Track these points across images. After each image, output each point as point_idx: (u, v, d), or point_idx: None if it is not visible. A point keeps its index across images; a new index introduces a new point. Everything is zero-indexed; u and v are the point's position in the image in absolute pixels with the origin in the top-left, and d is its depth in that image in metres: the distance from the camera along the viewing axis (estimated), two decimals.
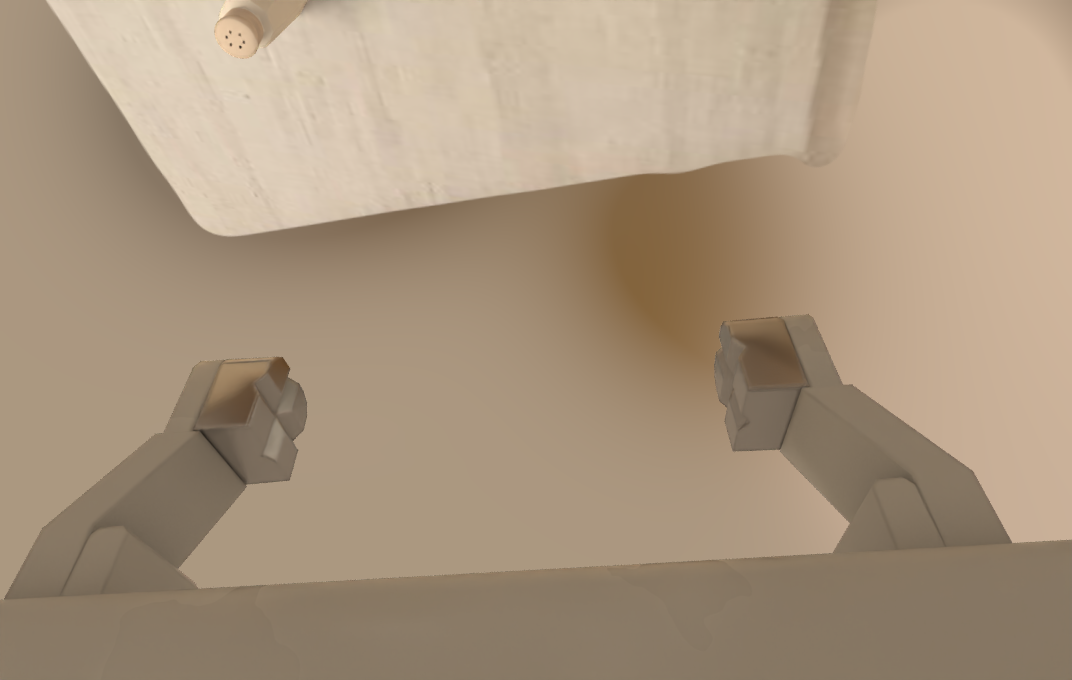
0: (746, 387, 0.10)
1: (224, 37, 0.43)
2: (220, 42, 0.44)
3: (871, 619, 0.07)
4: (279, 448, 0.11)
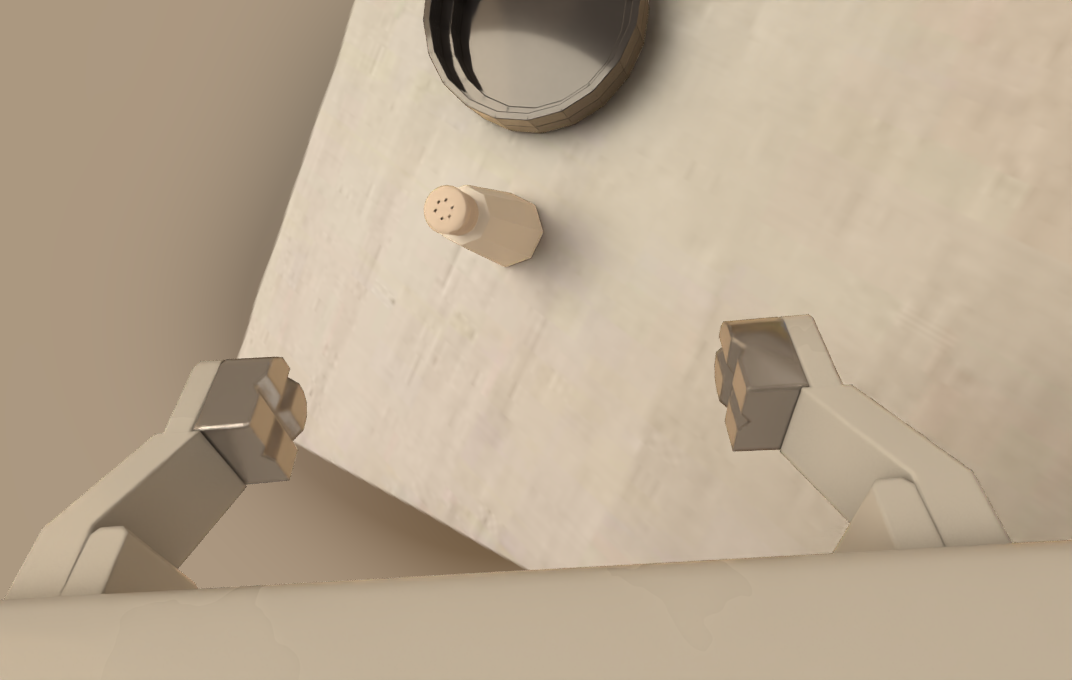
0: (746, 387, 0.10)
1: (435, 201, 0.37)
2: (427, 202, 0.37)
3: (871, 619, 0.07)
4: (279, 448, 0.11)
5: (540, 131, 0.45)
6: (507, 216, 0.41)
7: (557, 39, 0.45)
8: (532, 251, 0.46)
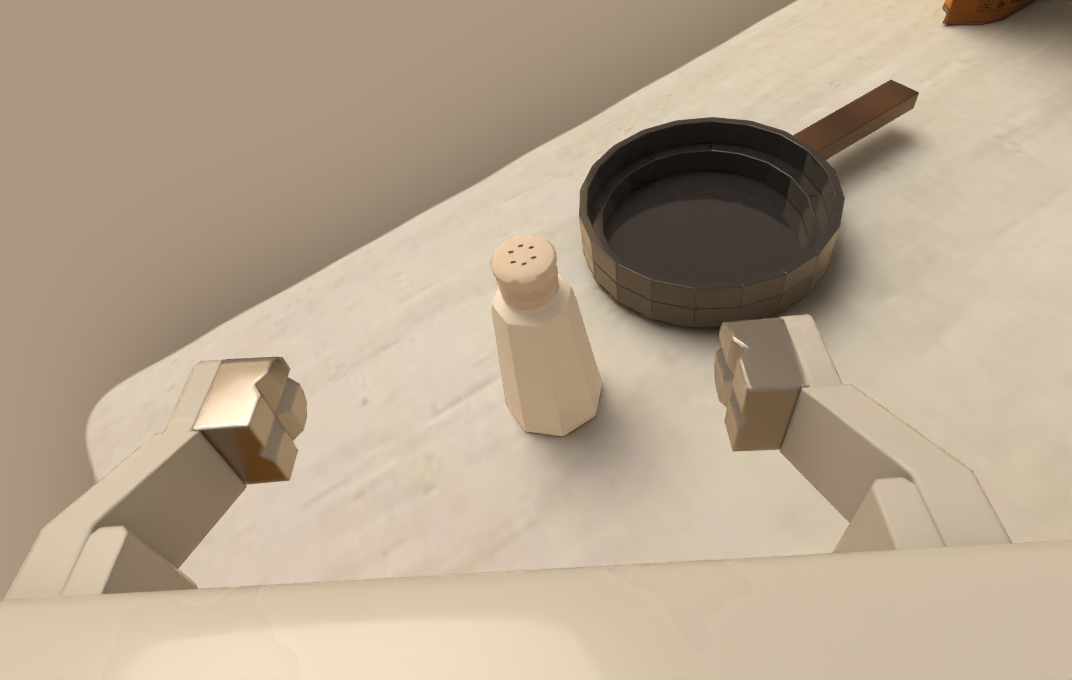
0: (746, 387, 0.10)
1: (518, 244, 0.27)
2: (507, 242, 0.27)
3: (871, 619, 0.07)
4: (279, 448, 0.11)
5: (652, 314, 0.37)
6: (577, 341, 0.30)
7: (713, 251, 0.39)
8: (569, 428, 0.33)
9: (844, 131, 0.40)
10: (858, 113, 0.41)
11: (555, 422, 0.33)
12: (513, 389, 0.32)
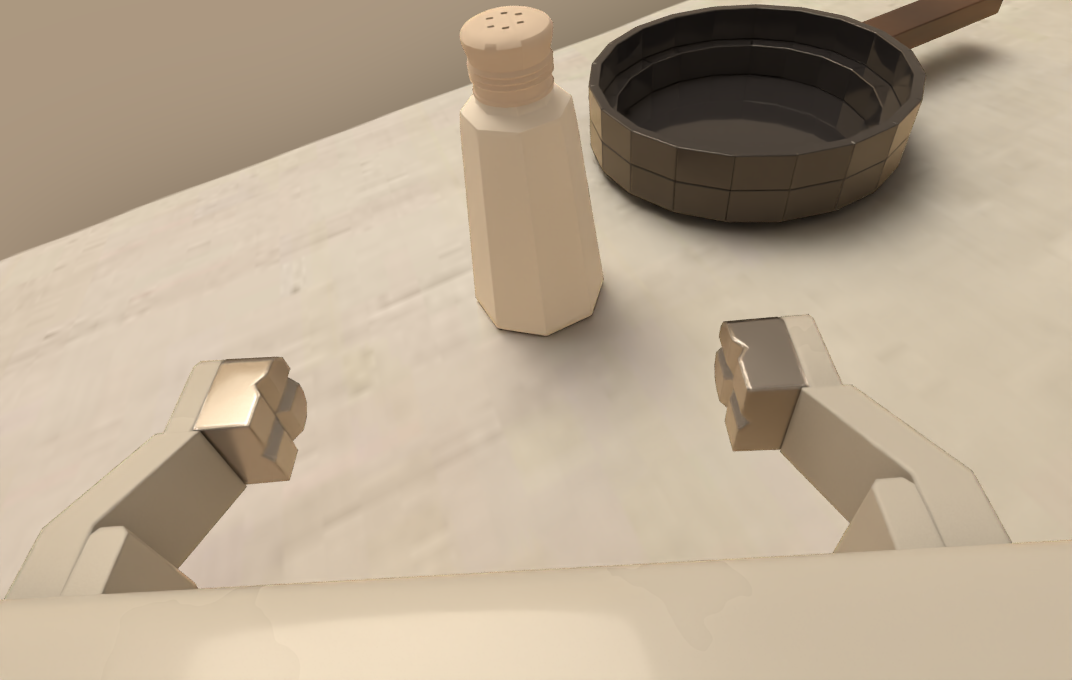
0: (745, 387, 0.10)
1: (500, 12, 0.19)
2: None
3: (871, 619, 0.07)
4: (279, 448, 0.11)
5: (673, 204, 0.29)
6: (575, 183, 0.22)
7: (752, 148, 0.32)
8: (556, 325, 0.25)
9: (918, 22, 0.33)
10: (934, 7, 0.34)
11: (537, 310, 0.24)
12: (484, 258, 0.24)
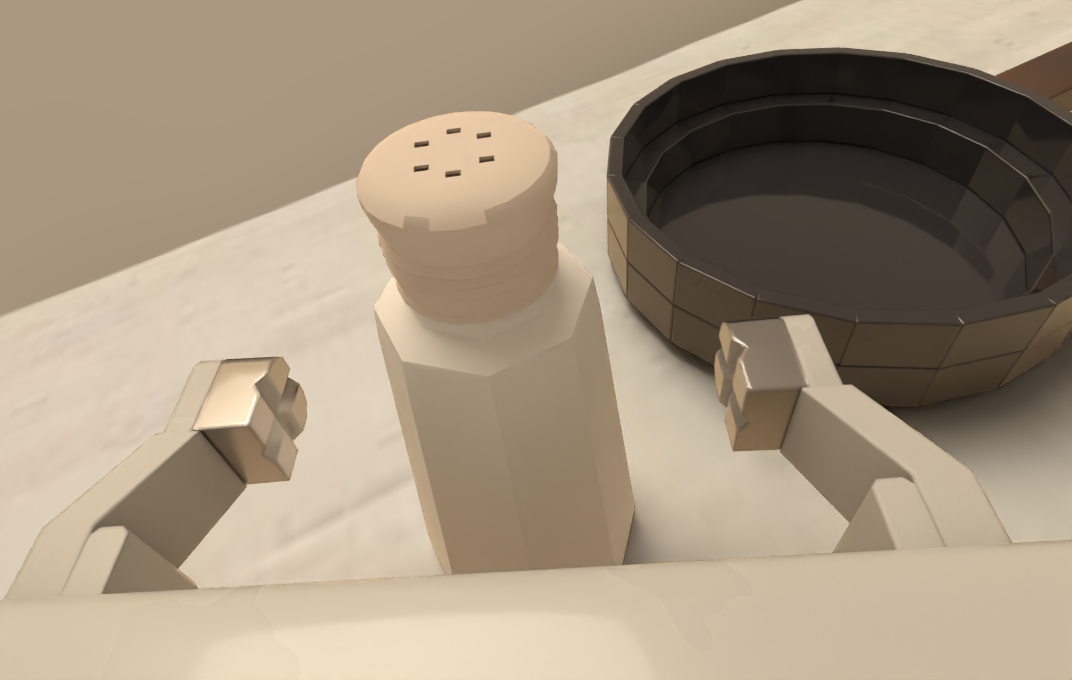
0: (746, 387, 0.10)
1: (447, 127, 0.09)
2: (418, 122, 0.09)
3: (871, 619, 0.07)
4: (279, 448, 0.11)
5: None
6: (596, 423, 0.12)
7: (846, 264, 0.21)
8: None
9: None
10: None
11: None
12: (434, 519, 0.14)
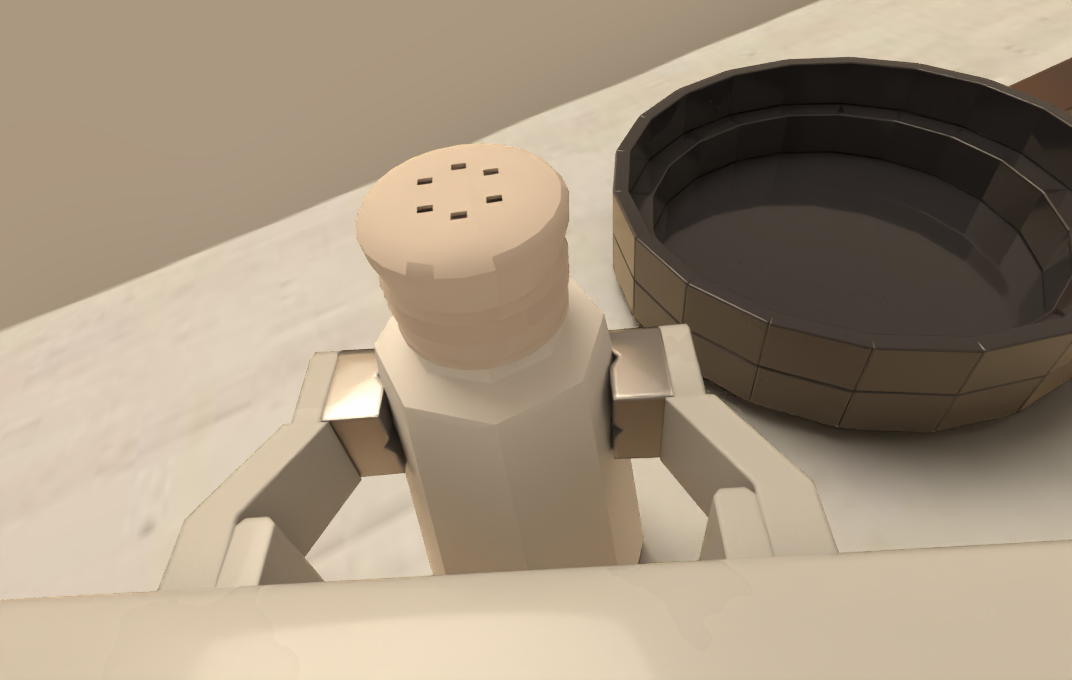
0: (612, 397, 0.10)
1: (452, 162, 0.09)
2: (420, 156, 0.09)
3: (871, 619, 0.07)
4: (397, 440, 0.11)
5: (750, 393, 0.18)
6: (607, 463, 0.11)
7: (858, 281, 0.21)
8: None
9: None
10: None
11: None
12: (437, 557, 0.13)
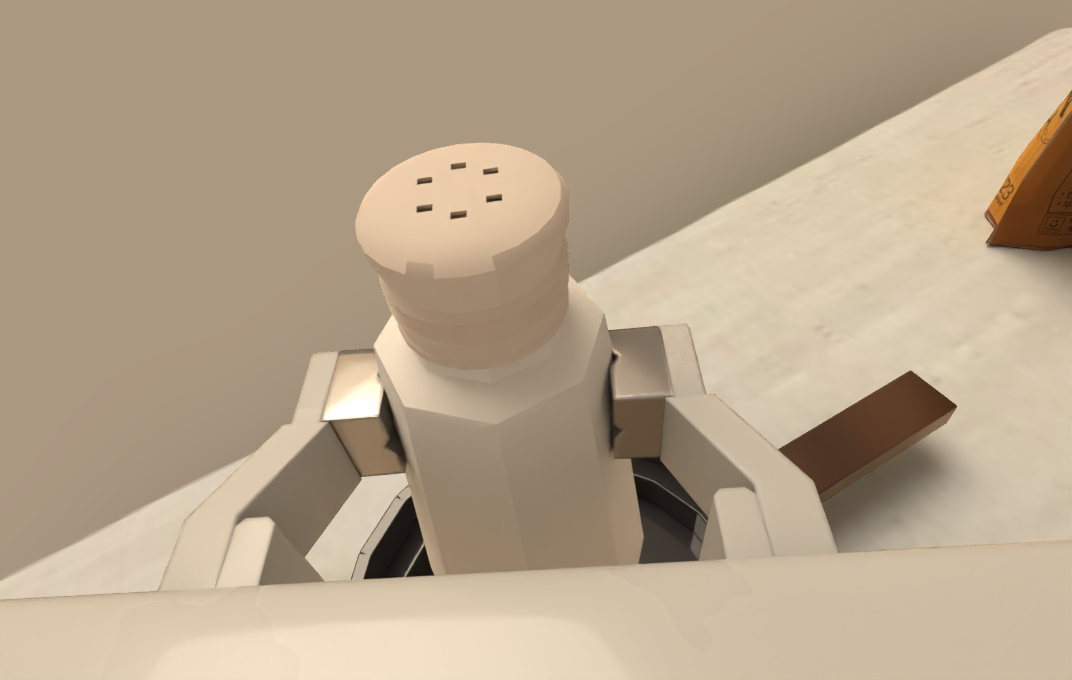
0: (612, 397, 0.10)
1: (451, 162, 0.09)
2: (420, 155, 0.09)
3: (871, 619, 0.07)
4: (397, 440, 0.11)
5: None
6: (607, 463, 0.11)
7: None
8: None
9: (829, 477, 0.23)
10: (854, 437, 0.24)
11: None
12: (437, 557, 0.13)
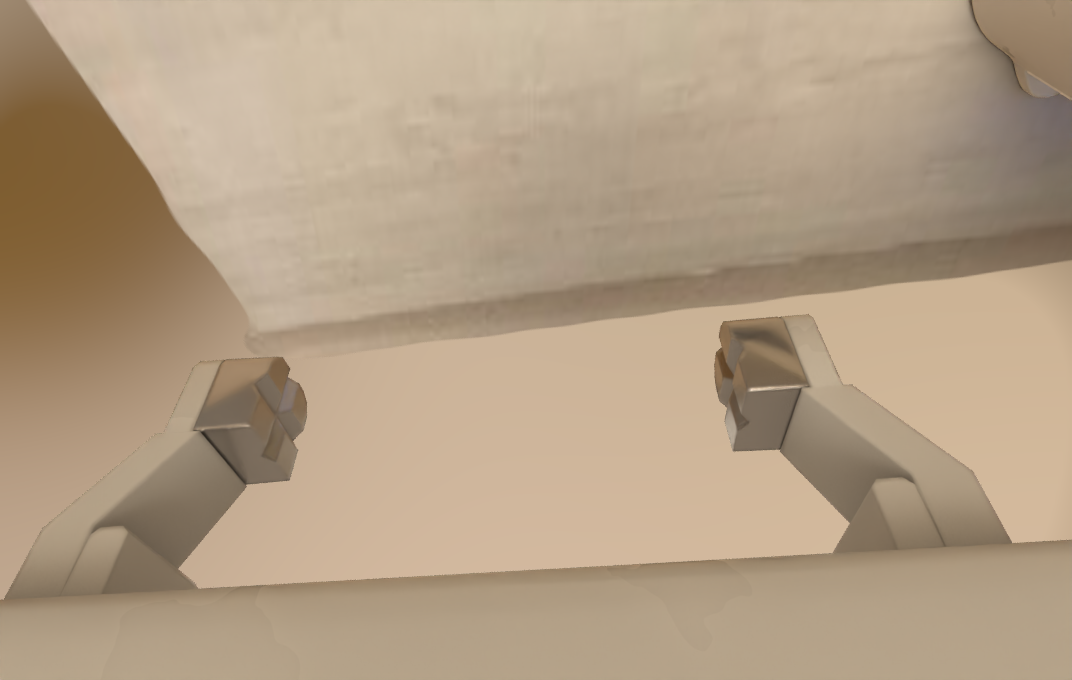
0: (746, 387, 0.10)
1: None
2: None
3: (871, 619, 0.07)
4: (279, 448, 0.11)
5: None
6: None
7: None
8: None
9: None
10: None
11: None
12: None
